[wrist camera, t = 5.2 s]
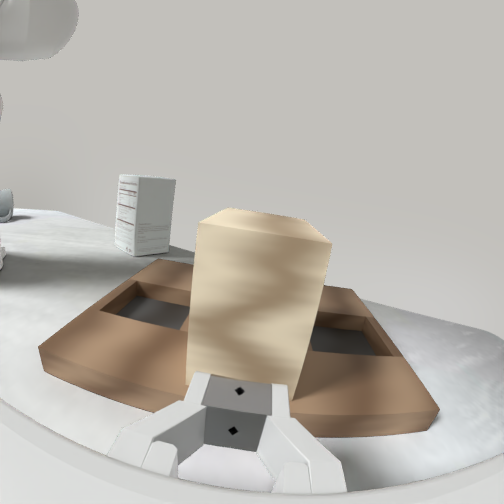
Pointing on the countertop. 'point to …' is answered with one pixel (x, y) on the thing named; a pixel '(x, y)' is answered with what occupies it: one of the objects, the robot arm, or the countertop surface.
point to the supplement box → (144, 214)
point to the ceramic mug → (6, 205)
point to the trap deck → (175, 356)
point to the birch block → (254, 296)
